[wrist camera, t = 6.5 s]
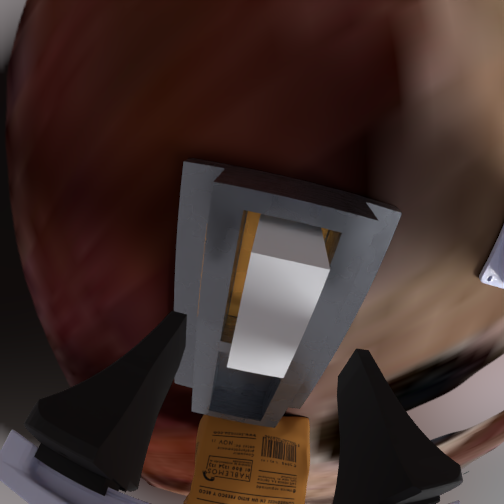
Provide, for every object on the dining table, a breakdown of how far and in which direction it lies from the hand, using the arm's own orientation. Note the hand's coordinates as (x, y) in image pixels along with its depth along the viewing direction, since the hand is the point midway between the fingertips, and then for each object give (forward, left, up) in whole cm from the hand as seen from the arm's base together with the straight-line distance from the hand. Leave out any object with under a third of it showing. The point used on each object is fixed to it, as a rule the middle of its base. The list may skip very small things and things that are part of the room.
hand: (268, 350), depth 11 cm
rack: (0, +5, -7) cm, 9 cm away
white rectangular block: (0, 0, -6) cm, 6 cm away
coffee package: (-3, +22, -7) cm, 23 cm away
